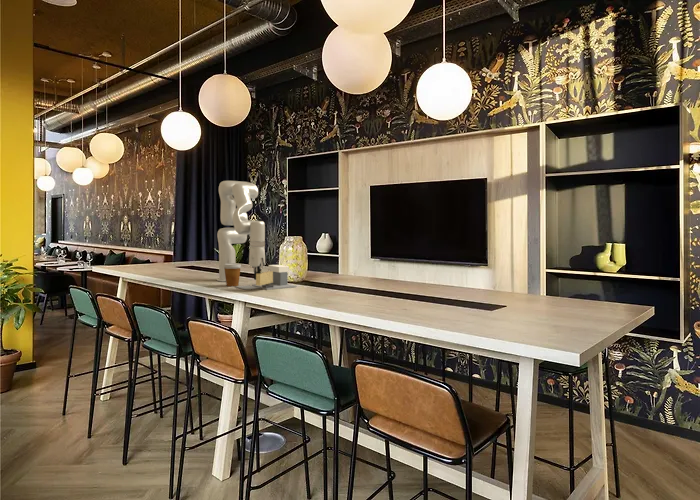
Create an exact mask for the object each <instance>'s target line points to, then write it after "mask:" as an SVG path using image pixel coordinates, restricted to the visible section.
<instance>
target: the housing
mask: <svg viewBox="0 0 700 500" xmlns="http://www.w3.org/2000/svg"><path fill="white" fill-rule="evenodd" d="M288 273H289V272H273V283H270V285H266V284H265V285H261V286H259V285H256V283H255V284H252V285H251V286H254V287H258V288H260V289H261V290H265V291H269V290H281V289H291V288H293V289H294V288H297V285H295V284H290V283H288V281H289V280H288V278H289V277H288Z"/></svg>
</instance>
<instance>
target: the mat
mask: <svg viewBox="0 0 700 500" xmlns="http://www.w3.org/2000/svg"><path fill="white" fill-rule="evenodd" d="M236 287H237V288H236ZM234 288H236V289H240V290H244V291H249V290H250V291H251V289H252V290H260V289H261V288H258V287H254V286H252V285H250V284H249V285H248V284H247V285H238V286H234Z"/></svg>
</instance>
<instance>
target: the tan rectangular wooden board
mask: <svg viewBox="0 0 700 500" xmlns="http://www.w3.org/2000/svg"><path fill="white" fill-rule="evenodd" d="M270 283H273V271H267V270H266V271H263V272H262V271H261V273H257V274H256V280H255V284H256V285H259V286H261V285H265V284H266V285H270Z"/></svg>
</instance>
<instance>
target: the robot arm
mask: <svg viewBox="0 0 700 500" xmlns="http://www.w3.org/2000/svg"><path fill="white" fill-rule="evenodd" d="M218 194H219V199H220V223H221V225H223V226H233V227H223V228H219V229H218V231H217V242H218V270H219V271H218V273H219V274H218V277H217V278H216V281H217V282H223V283H224V282H225V283H226V277H225V269H224V264H232V263H236V262H237V261H236V257H237V256H236V250H235V248H234V246H233V244H244V243H246V242H247V240H248V235H249V237H250V238H249V241H250V242H249V244H250V246H249V254H248V265H249V266H251V268H252V269H253V279H254V280H255V281H256V274H257V273H262V270H264V267H265V265H266V252H265V251H266V250H265V247H266V240H265V239H266V226H265V225H266V224H265V222H264V221H263V220H250V219H248V218H249V217H248V213H247V212H249V211H250V210H252V208H253V201H252V199H256V198H258V196H259V189H258V187H257V185H256V184H255V183H252V182H249V181H238V180H223V181H221V182H220V183H219V186H218ZM236 264H237V263H236Z"/></svg>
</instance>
